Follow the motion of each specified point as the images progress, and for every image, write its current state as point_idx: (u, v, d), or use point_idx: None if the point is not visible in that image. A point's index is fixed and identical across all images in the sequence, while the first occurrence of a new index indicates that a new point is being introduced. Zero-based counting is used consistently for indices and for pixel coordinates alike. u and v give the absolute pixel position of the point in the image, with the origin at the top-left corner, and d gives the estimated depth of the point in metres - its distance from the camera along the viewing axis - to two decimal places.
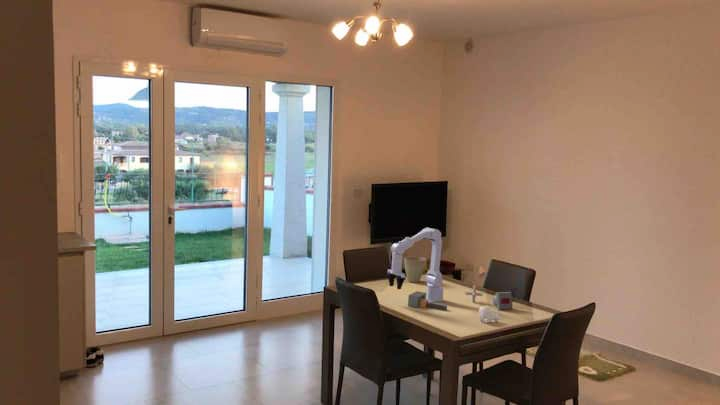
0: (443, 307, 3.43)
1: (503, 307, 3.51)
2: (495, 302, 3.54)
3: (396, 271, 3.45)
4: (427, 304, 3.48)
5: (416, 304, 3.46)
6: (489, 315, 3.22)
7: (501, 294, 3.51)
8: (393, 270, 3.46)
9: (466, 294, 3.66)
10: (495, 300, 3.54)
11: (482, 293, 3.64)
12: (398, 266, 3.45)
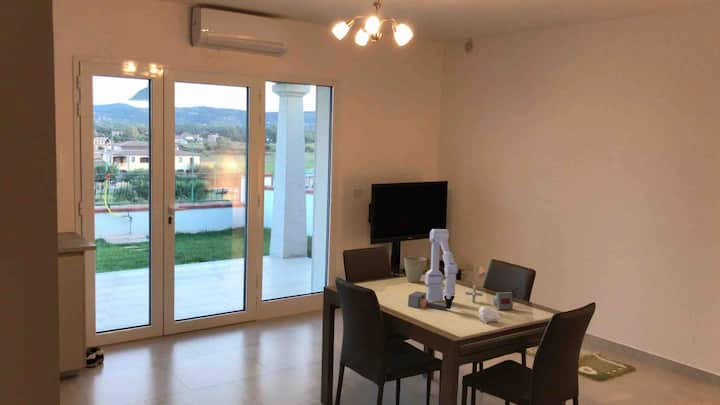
0: (443, 307, 3.43)
1: (503, 307, 3.50)
2: (495, 302, 3.54)
3: (446, 291, 3.40)
4: (427, 304, 3.48)
5: (416, 304, 3.46)
6: (489, 315, 3.22)
7: (501, 294, 3.51)
8: None
9: (466, 294, 3.66)
10: (495, 300, 3.54)
11: (482, 293, 3.64)
12: (448, 287, 3.40)
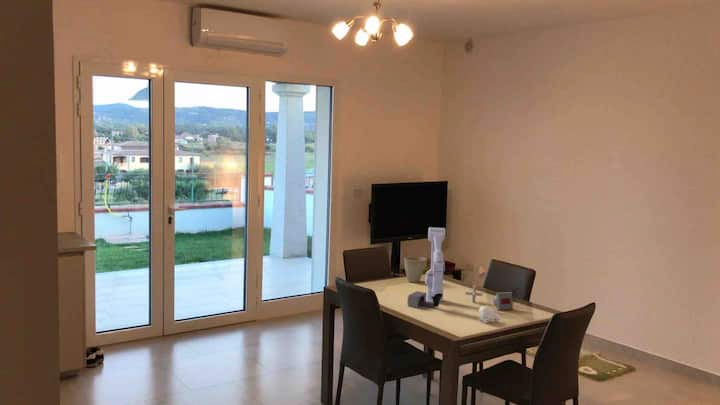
0: (431, 304, 3.47)
1: (503, 307, 3.50)
2: (495, 302, 3.54)
3: (433, 289, 3.45)
4: None
5: (416, 304, 3.46)
6: (489, 315, 3.22)
7: (501, 294, 3.51)
8: (432, 288, 3.46)
9: (466, 294, 3.66)
10: (495, 300, 3.54)
11: (482, 293, 3.64)
12: (434, 284, 3.44)
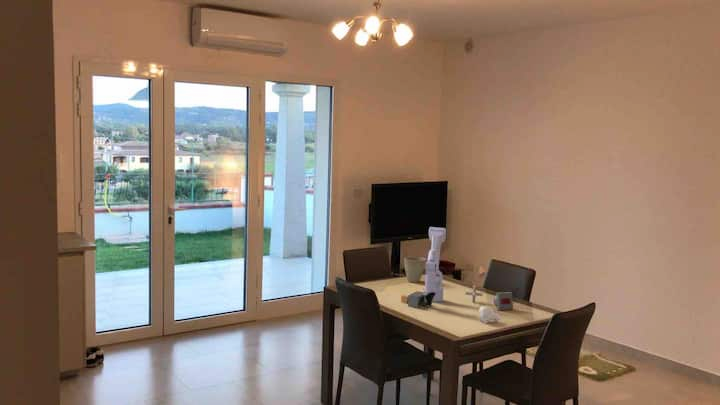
0: (424, 303, 3.49)
1: (503, 307, 3.50)
2: (495, 302, 3.54)
3: (426, 288, 3.47)
4: None
5: (416, 304, 3.46)
6: (489, 315, 3.22)
7: (501, 294, 3.51)
8: (425, 287, 3.48)
9: (466, 294, 3.66)
10: (495, 300, 3.54)
11: (482, 293, 3.64)
12: (427, 283, 3.46)
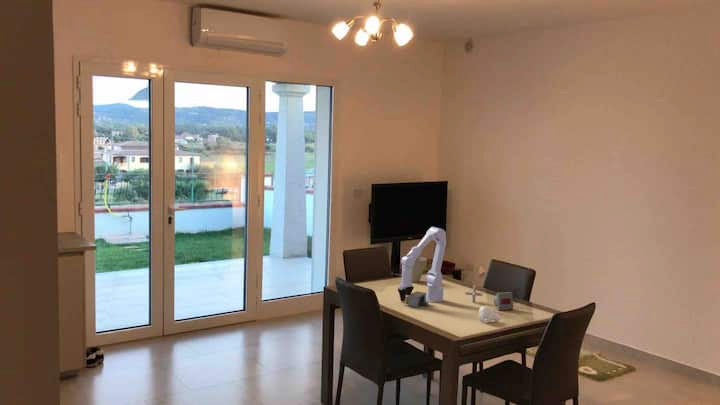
0: (424, 303, 3.49)
1: (503, 307, 3.50)
2: (496, 302, 3.54)
3: (402, 283, 3.54)
4: None
5: (416, 304, 3.46)
6: (489, 315, 3.22)
7: (501, 294, 3.51)
8: None
9: (466, 294, 3.66)
10: (496, 300, 3.54)
11: (482, 293, 3.64)
12: (403, 278, 3.52)
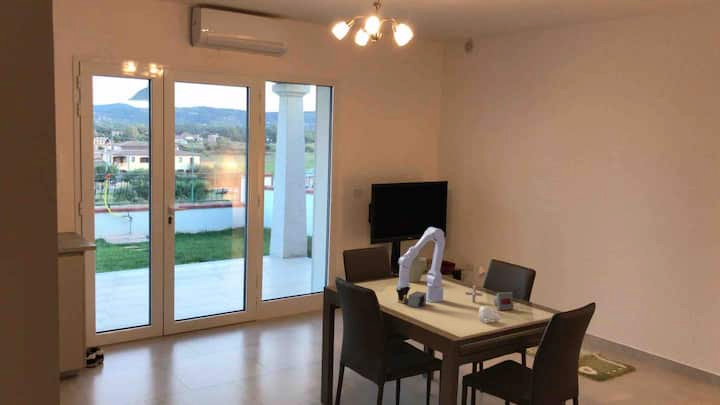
0: (421, 303, 3.50)
1: (503, 308, 3.50)
2: (496, 302, 3.53)
3: (399, 283, 3.54)
4: (406, 300, 3.54)
5: (416, 304, 3.46)
6: (489, 315, 3.22)
7: (502, 294, 3.50)
8: None
9: (466, 294, 3.66)
10: (496, 300, 3.53)
11: (482, 293, 3.64)
12: (401, 278, 3.53)
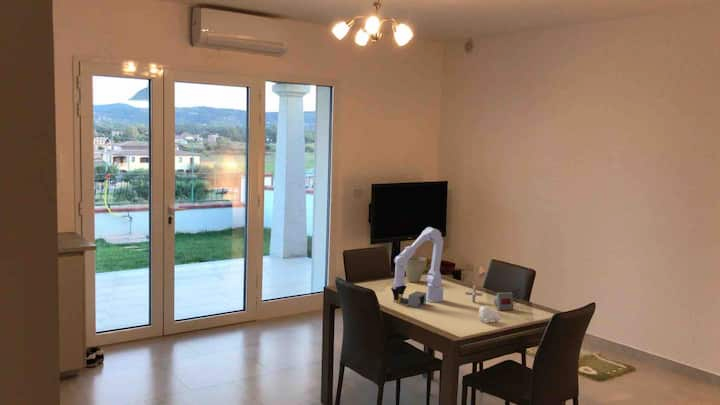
0: None
1: (503, 308, 3.50)
2: (496, 302, 3.53)
3: (395, 282, 3.56)
4: (401, 299, 3.55)
5: (416, 304, 3.46)
6: (489, 315, 3.22)
7: (502, 295, 3.50)
8: (394, 281, 3.57)
9: (466, 294, 3.66)
10: (496, 300, 3.53)
11: (482, 293, 3.64)
12: (396, 277, 3.55)
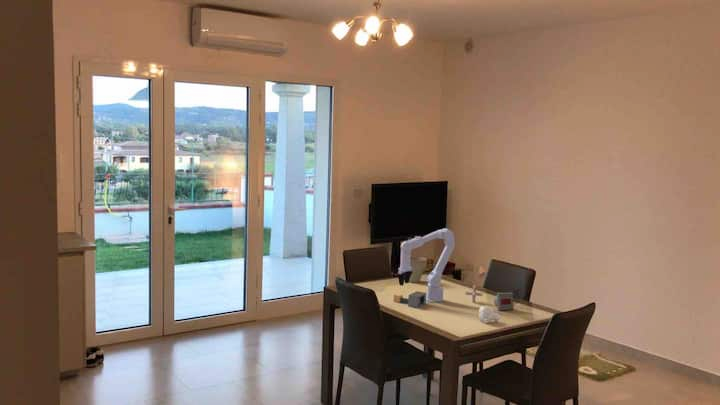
0: None
1: (503, 308, 3.49)
2: (496, 303, 3.53)
3: (401, 267, 3.60)
4: (401, 299, 3.55)
5: (416, 304, 3.46)
6: (489, 315, 3.22)
7: (502, 295, 3.50)
8: (400, 266, 3.62)
9: (466, 294, 3.66)
10: (496, 301, 3.53)
11: (482, 293, 3.64)
12: (402, 263, 3.59)
